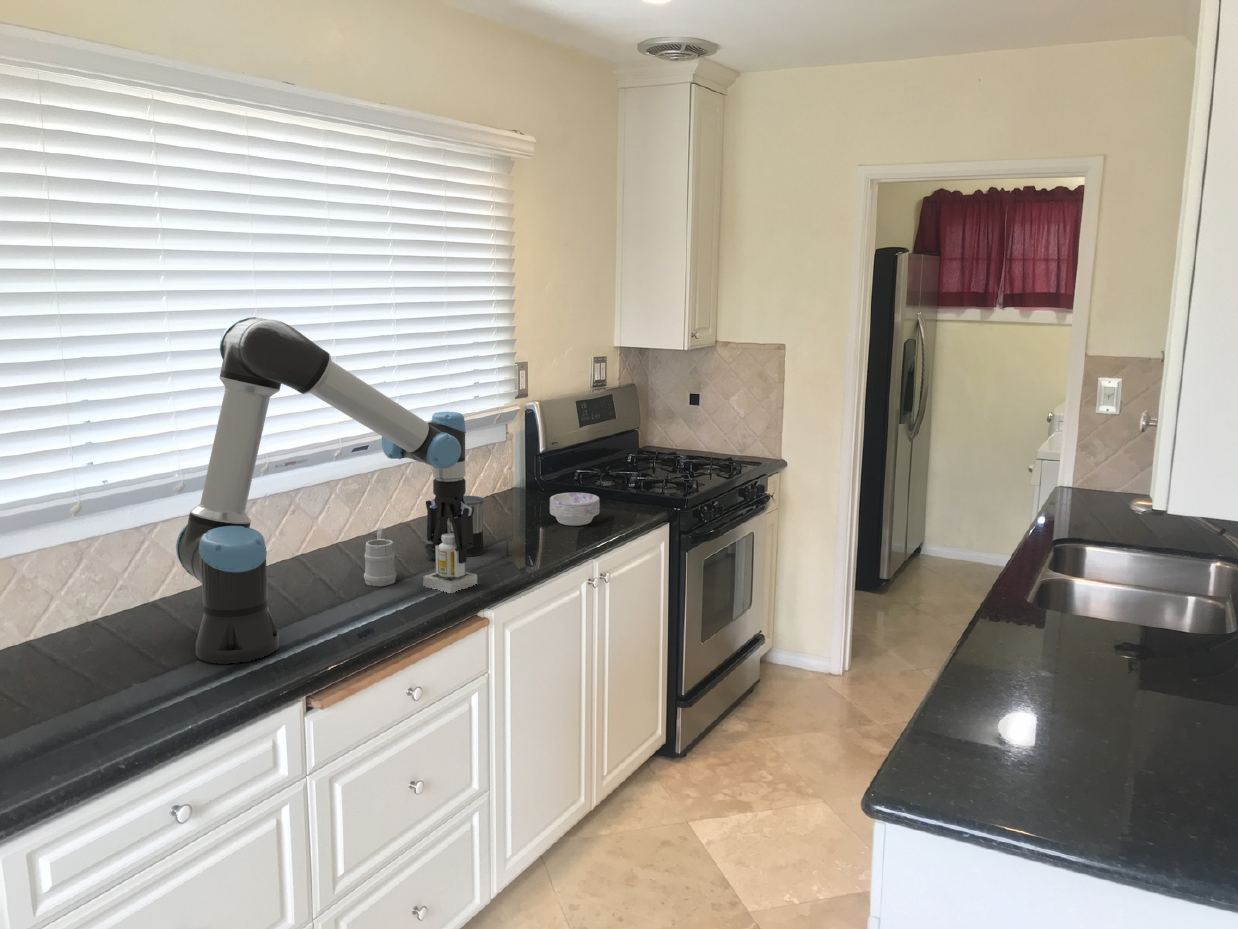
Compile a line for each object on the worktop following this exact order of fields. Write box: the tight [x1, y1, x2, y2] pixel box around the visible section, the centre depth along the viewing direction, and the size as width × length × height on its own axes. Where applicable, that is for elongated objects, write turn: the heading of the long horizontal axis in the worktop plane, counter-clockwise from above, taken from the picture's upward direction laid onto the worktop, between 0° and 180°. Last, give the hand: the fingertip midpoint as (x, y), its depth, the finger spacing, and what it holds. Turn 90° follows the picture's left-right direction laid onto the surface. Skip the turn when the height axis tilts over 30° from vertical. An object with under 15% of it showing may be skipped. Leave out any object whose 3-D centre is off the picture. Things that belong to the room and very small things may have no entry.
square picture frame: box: [422, 571, 478, 594], centre depth 230 cm, size 9×9×2 cm
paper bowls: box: [549, 492, 601, 527], centre depth 294 cm, size 15×15×8 cm
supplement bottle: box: [439, 532, 457, 577], centre depth 229 cm, size 5×5×10 cm
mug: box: [363, 526, 397, 587], centre depth 232 cm, size 8×12×12 cm, turn 13°
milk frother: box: [424, 495, 486, 559], centre depth 254 cm, size 14×16×15 cm
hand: (450, 573), depth 229 cm, fingers closed on supplement bottle, 5 cm apart
